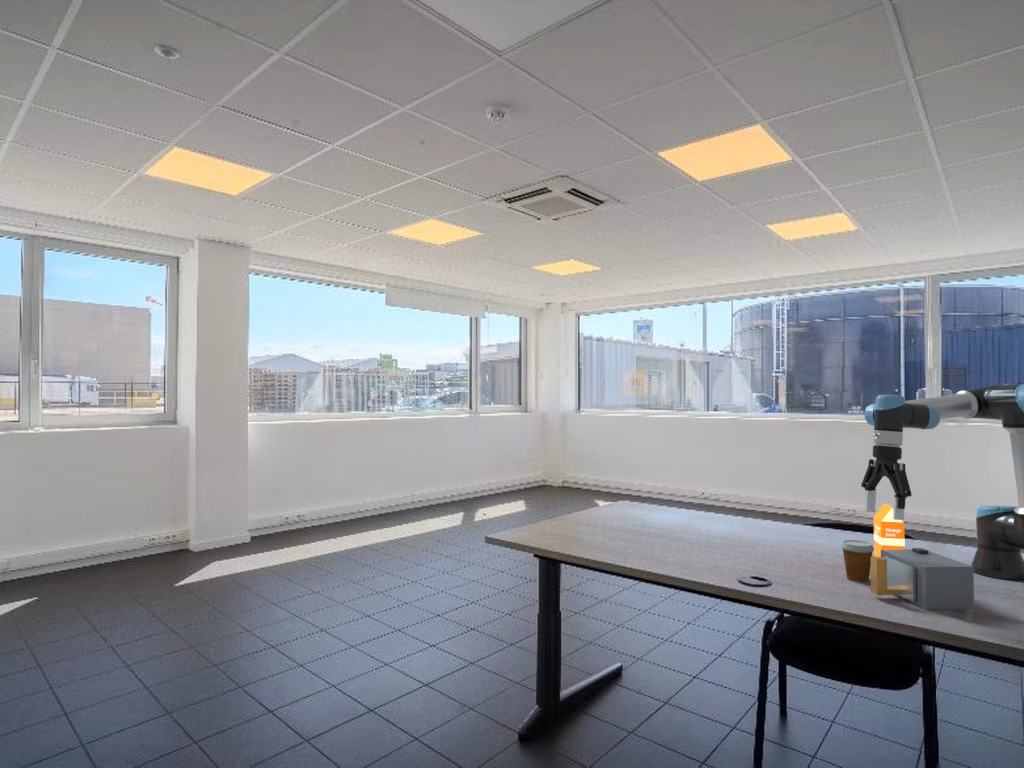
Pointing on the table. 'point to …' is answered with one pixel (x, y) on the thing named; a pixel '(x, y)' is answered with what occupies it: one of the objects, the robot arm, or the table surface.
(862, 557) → the disposable coffee cup
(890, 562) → the side cover
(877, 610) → the table surface
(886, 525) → the orange juice
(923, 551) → the open-sided grey enclosure
